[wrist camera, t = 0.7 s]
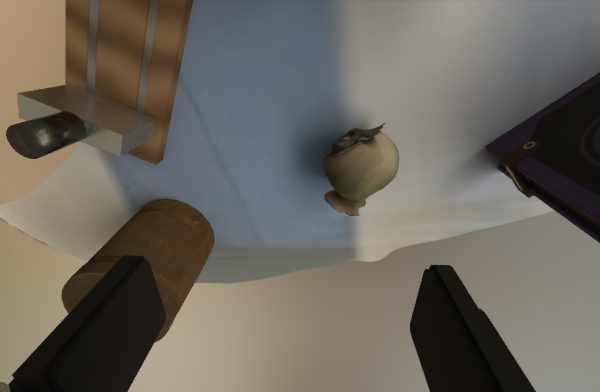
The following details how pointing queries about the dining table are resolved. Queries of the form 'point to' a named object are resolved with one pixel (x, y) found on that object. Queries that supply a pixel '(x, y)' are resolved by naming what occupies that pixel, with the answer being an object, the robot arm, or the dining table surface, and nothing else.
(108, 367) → the robot arm
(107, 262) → the wooden container
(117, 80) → the base
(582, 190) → the book
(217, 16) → the dining table surface
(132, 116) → the sliding jaw
